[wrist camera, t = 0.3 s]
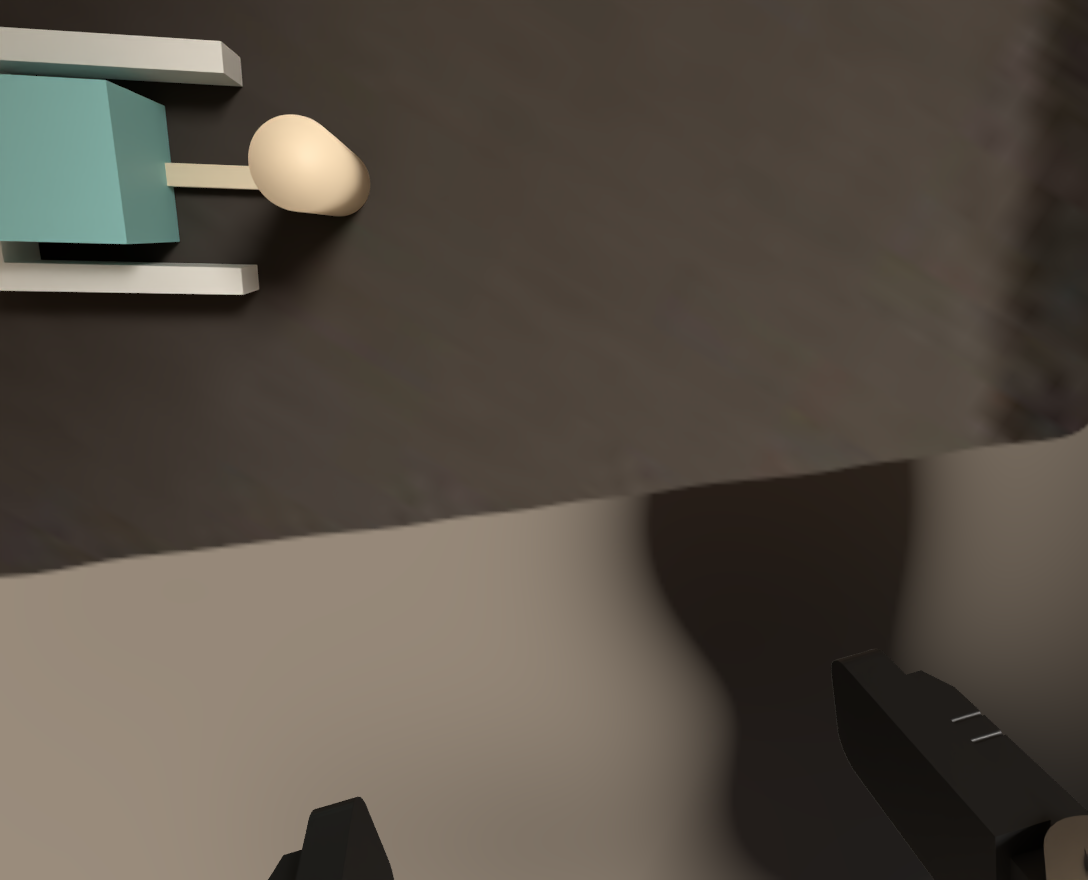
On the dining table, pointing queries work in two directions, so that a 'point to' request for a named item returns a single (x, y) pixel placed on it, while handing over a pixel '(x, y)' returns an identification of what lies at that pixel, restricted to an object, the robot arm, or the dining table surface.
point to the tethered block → (143, 165)
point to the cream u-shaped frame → (123, 61)
